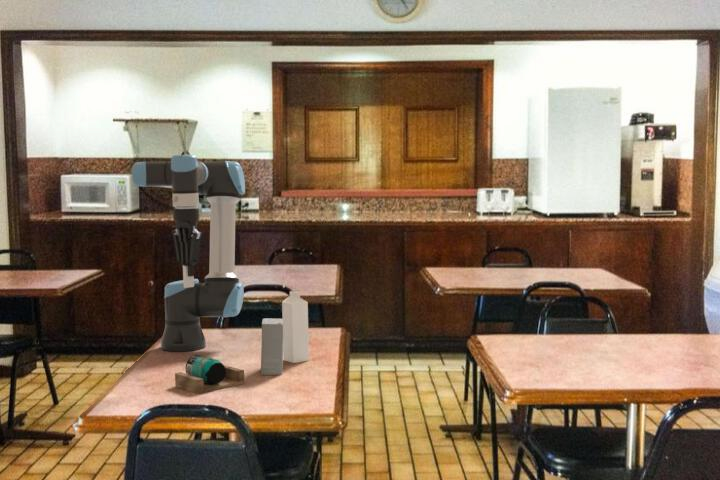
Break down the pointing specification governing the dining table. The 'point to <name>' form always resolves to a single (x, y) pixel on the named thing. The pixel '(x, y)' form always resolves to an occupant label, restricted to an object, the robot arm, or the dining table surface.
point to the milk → (295, 329)
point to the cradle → (199, 386)
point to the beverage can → (206, 369)
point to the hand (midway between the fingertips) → (188, 286)
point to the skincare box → (272, 346)
